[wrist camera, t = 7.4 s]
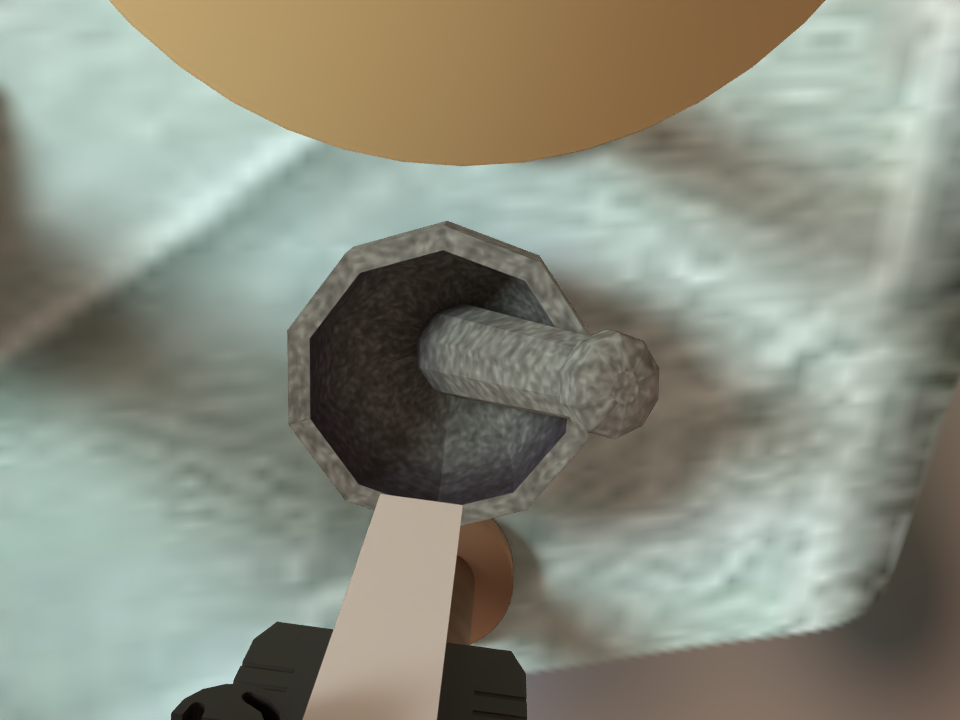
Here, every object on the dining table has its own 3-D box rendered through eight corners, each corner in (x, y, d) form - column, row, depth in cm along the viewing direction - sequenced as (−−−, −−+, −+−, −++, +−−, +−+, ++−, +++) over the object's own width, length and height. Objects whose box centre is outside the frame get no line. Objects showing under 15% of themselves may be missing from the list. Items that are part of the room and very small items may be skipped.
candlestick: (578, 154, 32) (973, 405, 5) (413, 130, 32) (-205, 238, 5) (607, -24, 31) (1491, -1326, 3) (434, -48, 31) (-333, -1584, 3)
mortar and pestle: (368, 475, 36) (297, 644, 24) (293, 250, 34) (177, 319, 22) (643, 406, 35) (707, 550, 23) (585, 168, 33) (622, 196, 21)
